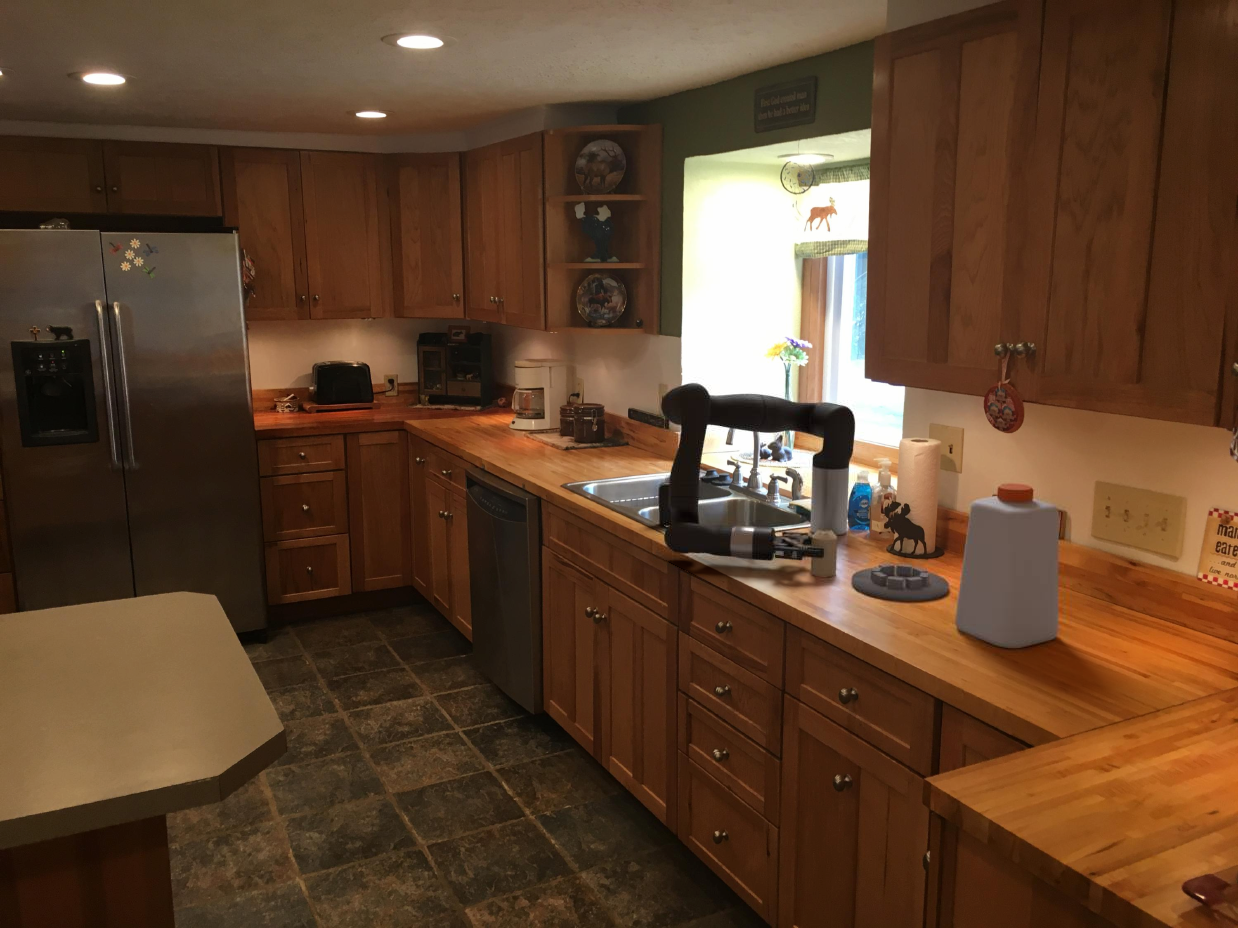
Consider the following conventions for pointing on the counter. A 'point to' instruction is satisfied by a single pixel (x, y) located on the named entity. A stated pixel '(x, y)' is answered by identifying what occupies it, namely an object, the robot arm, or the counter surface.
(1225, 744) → the counter surface
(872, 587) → the candle dish
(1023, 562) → the plastic bottle
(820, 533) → the candle
